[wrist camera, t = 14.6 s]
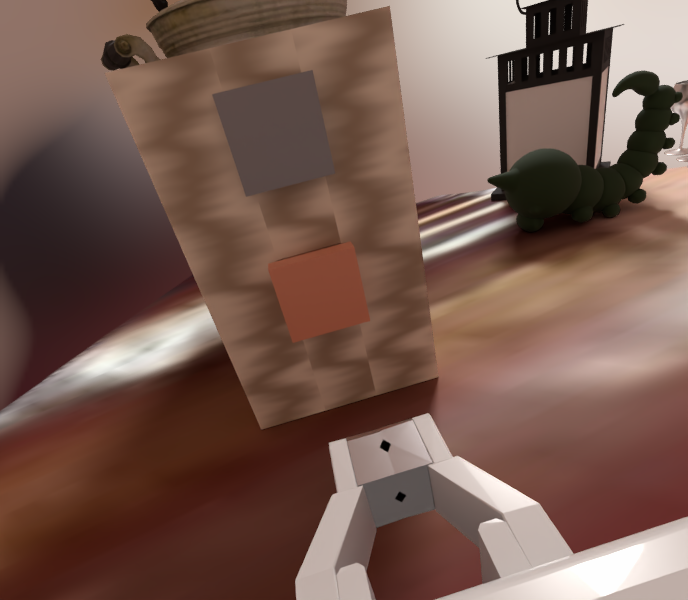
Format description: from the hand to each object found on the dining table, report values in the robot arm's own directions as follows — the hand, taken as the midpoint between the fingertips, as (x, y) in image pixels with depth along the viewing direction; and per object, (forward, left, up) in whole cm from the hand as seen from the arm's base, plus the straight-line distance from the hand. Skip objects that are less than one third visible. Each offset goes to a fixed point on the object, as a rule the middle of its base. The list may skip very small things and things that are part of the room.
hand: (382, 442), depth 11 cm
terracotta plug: (0, -20, -5) cm, 20 cm away
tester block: (0, -21, -15) cm, 25 cm away
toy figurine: (-39, -42, -15) cm, 59 cm away
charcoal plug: (0, -21, +5) cm, 22 cm away
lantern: (-48, -60, -15) cm, 78 cm away
